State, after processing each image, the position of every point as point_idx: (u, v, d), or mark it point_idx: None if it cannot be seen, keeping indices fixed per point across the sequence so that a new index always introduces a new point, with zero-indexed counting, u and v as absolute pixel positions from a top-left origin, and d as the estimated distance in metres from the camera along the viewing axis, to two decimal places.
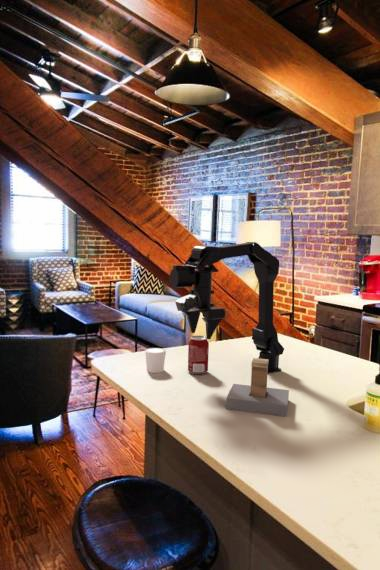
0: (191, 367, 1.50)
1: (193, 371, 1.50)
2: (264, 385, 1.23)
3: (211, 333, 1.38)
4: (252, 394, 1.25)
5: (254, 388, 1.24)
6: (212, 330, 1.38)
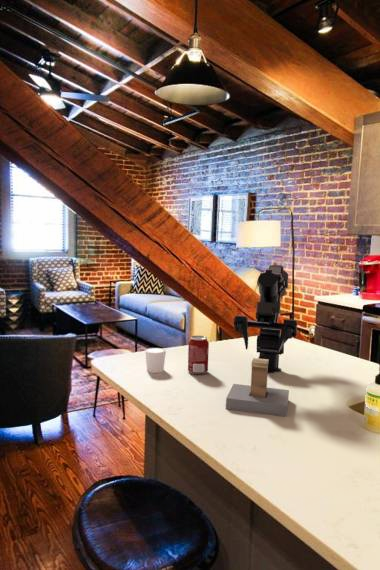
0: (191, 367, 1.50)
1: (193, 371, 1.50)
2: (264, 385, 1.23)
3: (281, 347, 1.33)
4: (252, 394, 1.25)
5: (254, 388, 1.24)
6: (282, 344, 1.33)
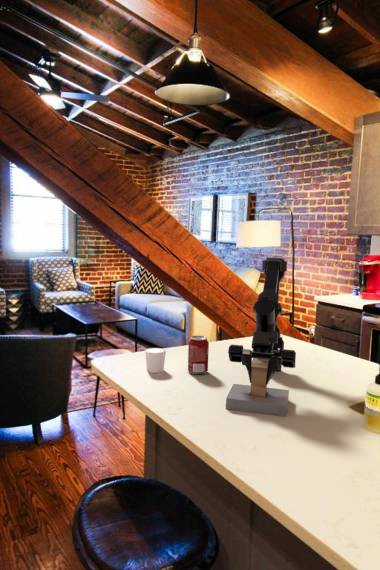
0: (191, 367, 1.50)
1: (193, 371, 1.50)
2: (264, 385, 1.23)
3: (270, 378, 1.25)
4: (252, 394, 1.25)
5: (254, 388, 1.24)
6: (271, 375, 1.26)
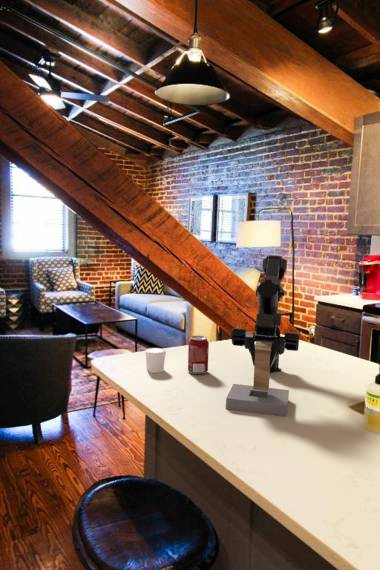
0: (191, 367, 1.50)
1: (193, 371, 1.50)
2: (268, 368, 1.23)
3: (273, 361, 1.24)
4: (255, 377, 1.24)
5: (257, 371, 1.23)
6: (274, 358, 1.25)
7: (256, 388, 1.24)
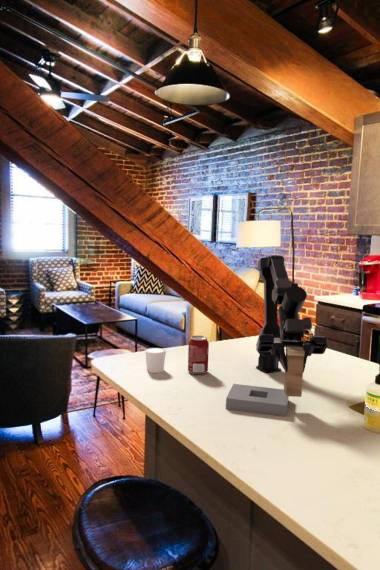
0: (191, 367, 1.50)
1: (193, 371, 1.50)
2: (301, 373, 1.21)
3: None
4: (289, 384, 1.21)
5: (290, 377, 1.21)
6: None
7: (289, 395, 1.22)
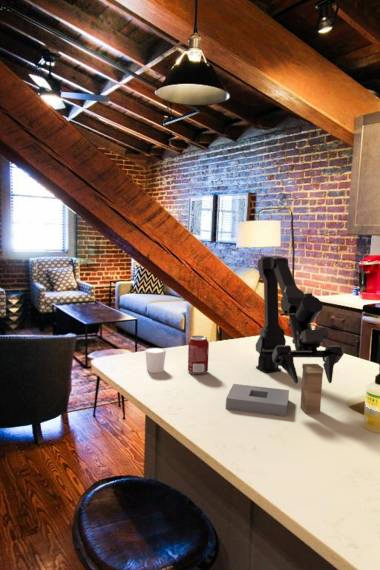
0: (191, 367, 1.50)
1: (193, 371, 1.50)
2: (320, 390, 1.21)
3: None
4: (308, 401, 1.21)
5: (309, 395, 1.20)
6: None
7: (308, 412, 1.21)
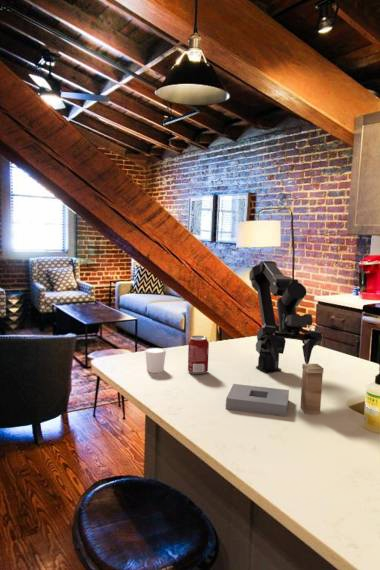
0: (191, 367, 1.50)
1: (193, 371, 1.50)
2: (320, 390, 1.21)
3: None
4: (308, 401, 1.21)
5: (309, 395, 1.20)
6: None
7: (308, 412, 1.21)
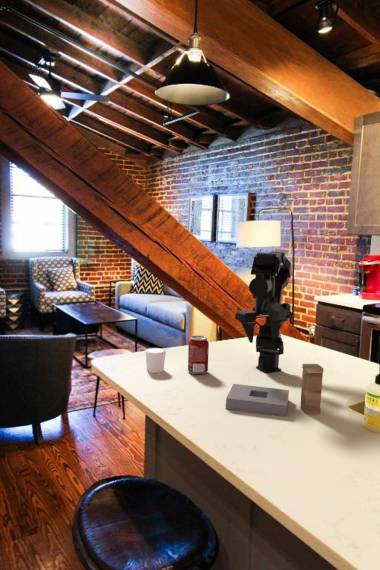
0: (191, 367, 1.50)
1: (193, 371, 1.50)
2: (320, 390, 1.21)
3: None
4: (308, 401, 1.21)
5: (309, 395, 1.20)
6: None
7: (308, 412, 1.21)
